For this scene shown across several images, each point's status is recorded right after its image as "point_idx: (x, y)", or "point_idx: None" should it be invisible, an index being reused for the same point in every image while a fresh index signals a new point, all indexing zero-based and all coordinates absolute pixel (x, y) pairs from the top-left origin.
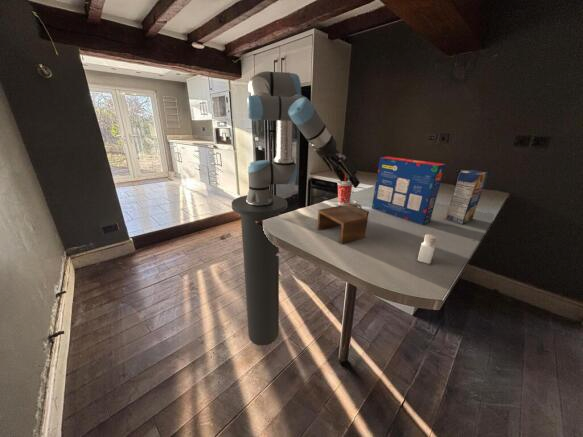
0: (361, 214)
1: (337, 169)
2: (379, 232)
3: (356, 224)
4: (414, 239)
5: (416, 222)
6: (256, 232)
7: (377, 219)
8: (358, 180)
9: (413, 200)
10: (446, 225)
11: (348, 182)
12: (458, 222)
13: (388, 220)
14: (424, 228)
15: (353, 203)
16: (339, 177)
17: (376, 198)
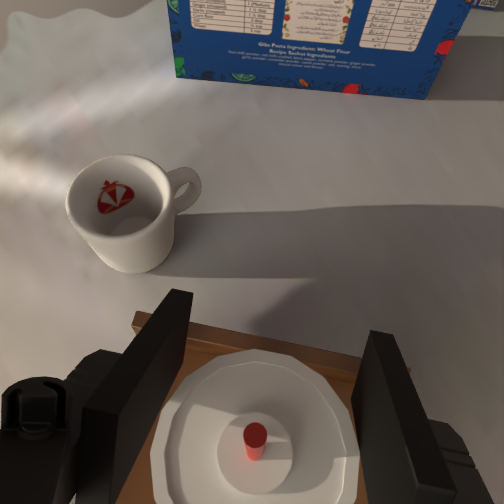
0: (353, 383)
1: (66, 471)
2: (367, 295)
3: None
4: (495, 246)
5: (398, 95)
6: None
7: (271, 171)
8: (401, 358)
9: (395, 7)
10: (472, 50)
11: (277, 406)
12: (482, 7)
13: (310, 148)
14: (447, 124)
15: (143, 175)
16: (142, 444)
17: (189, 28)
